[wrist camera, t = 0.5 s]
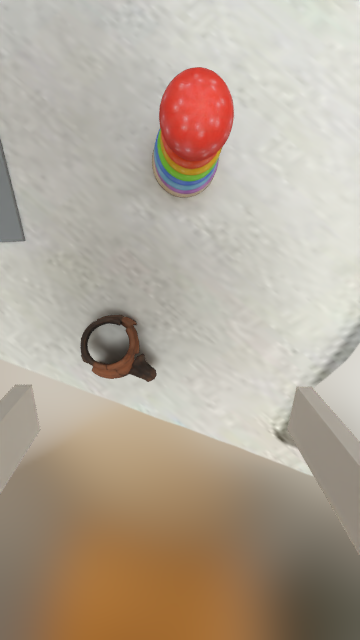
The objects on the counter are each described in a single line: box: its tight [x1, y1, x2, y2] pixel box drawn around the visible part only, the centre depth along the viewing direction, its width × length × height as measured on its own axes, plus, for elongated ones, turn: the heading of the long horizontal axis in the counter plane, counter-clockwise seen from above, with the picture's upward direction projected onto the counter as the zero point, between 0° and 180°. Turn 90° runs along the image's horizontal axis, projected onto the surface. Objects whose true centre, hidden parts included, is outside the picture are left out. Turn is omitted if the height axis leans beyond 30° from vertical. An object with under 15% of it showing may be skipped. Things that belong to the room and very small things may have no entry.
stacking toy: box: [152, 67, 234, 197], centre depth 24 cm, size 8×8×19 cm
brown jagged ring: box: [81, 315, 156, 382], centre depth 39 cm, size 12×10×8 cm
